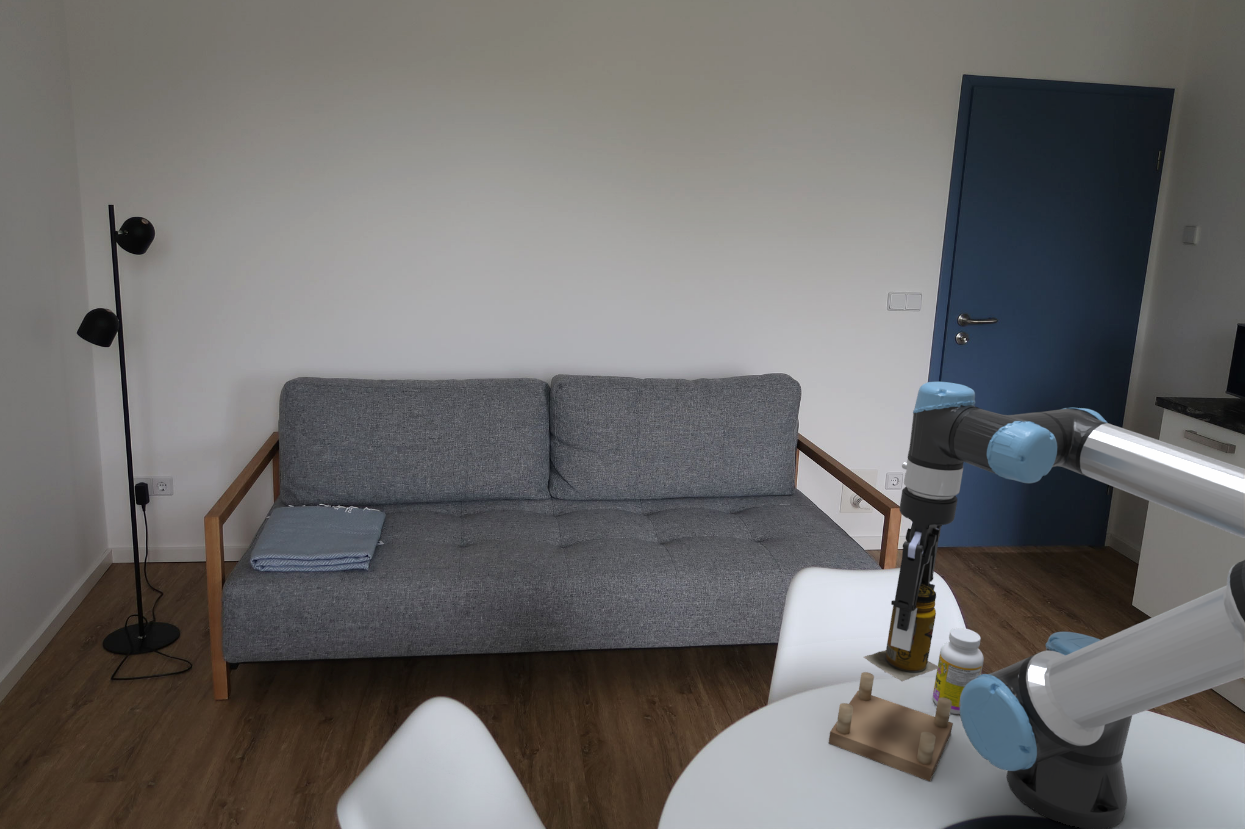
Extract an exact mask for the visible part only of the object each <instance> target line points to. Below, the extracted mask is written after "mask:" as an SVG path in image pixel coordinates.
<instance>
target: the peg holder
mask: <svg viewBox="0 0 1245 829" xmlns="http://www.w3.org/2000/svg"><path fill="white" fill-rule="evenodd" d="M874 679H875V675H874V674H873V673H871V672H868V671H867V672H866V671H863V672H861V674H860V679H859V680H860V681H859V685H858V686H859V688H858V690H857V691H856V693H855V694H853V695H854V696H853V697H852V698H851V700H850V701H849V703H847V702H842V703H840V704H839V708H838V714H837V721H836V722H835V723H834V725H833V726H832V728H831V730H830V731H829V738H828V744H830V745H833V746H835V747H838V748H840V749H843V750H844V751H845V750H846V751H848V752H851V753H854V754H856V755H859V756H861V757H863V758H867V759H869V760H872V761H875V762H877V763H880V764H883V765H884V766H887V767H890V768H893V769H896V770H898V771H901V772H904V773H906V774H908V775H912V776H915V777H916V778H918V779H922V780H925V781H927V782H932V779H933V776H934V774H935V772H936V770H937V767H938V766H939V763H940V760H941V758H942V755H943V754H944V751H945V749H946V746H947V745H948V743H949V740H950V737H951V735H952V729H953V726H954V725H953V724H954V723H953V722H951V721H950V716H951V713H950V710H951V705H952V702H951V701H950V700H949V699H947V698H939V699H938V703H937V705H936V710H935V715H931V714H928V713H925V712H923V711H919V710H916V709H913V708H910V707H908V706H904V705H902V704H899V703H896V702H893V701H891V700H888V699H884V698H881V697H879V696H877V695H876V696H875V695H872V693H873V686H874Z"/></svg>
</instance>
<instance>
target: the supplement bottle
mask: <svg viewBox="0 0 1245 829" xmlns="http://www.w3.org/2000/svg"><path fill="white" fill-rule="evenodd" d="M948 640H949V641H946V642H945V643H944V644H942V646H941V647H940V650H939V656H938V663H937V666H938V667H939V668H938V669H936V674H935V681H934V686H933V691H932V692H933V693H932V701H933V703H934V704H935V706H937V703H938V699H939V698H947V699H949V700H950V701H951V702H952V705H951V710H950V714H953V715H954V714H955V715H960V706H961V703H960V697H961V693H962V691H963V689H964V687H965V686H966V685H967V684H968V683H969V682H970V681H972V680H974V679H976V678H977V677H978V676H979V675H982V671H983V670H982V669H983V665H984V659H985V658H984V655H983V653H982V651H981V649H979V647H980V645H981V636H980V634H979V633H978V632H975V631H974V630H972V629H969V628H964V627H954V628H952V629H951V630H950V631H949V635H948Z"/></svg>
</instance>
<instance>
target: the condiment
mask: <svg viewBox="0 0 1245 829" xmlns="http://www.w3.org/2000/svg"><path fill="white" fill-rule="evenodd" d="M936 598H937V592H936V591H935V589H934V590H933V589H932V588H930V587H928V586H926V585H923V584H920V589H919V593H918V598H917V603H916V608H917V614H916V620H915V626H914V632H913V638H912V644H911V649H910V651H907V650H904V649H901V648H897V647H894V646H891V640H892V634H893V627H894V621H895V614H896V608H897V607H894V605H892V610H891V617H890V624H889V630H888V636H887V642H886V649H885V650H881V651H878V652H875V653H872V654H868V655H865V656H863V658H864V659H865V660H867V661H868V662H869V663H870V664H872V665H874V666H875V667H877V668H878V669H880V670H881V671H883V672H884V673H887V674H888V675H890V676H892V677H893V678H895V679H897V680H899V681H900V682H905V681H907V680H910V679H912V678H914V677H918V676H922V675H924V674H925V675H926V674H927V673H930V672H932V671H935V670H937V669H938V668H939V667H938V664H937V665H936V664H935V663H933V662H931V661H929V656H930V650H931V645H932V639H933V633H934V627H935V620H936V615H937V611H936V608H935V606H936Z"/></svg>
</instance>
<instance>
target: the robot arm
mask: <svg viewBox="0 0 1245 829" xmlns="http://www.w3.org/2000/svg"><path fill="white" fill-rule="evenodd" d="M975 398H976V392H975V390H974V389H972V388H970V387H969V386H966V385H964V384H960V383H953V382H946V381H928V382H925V383H923V384H922V385H921V386H919V389H918V392H917V397H916V400H915V406H914V409H913V410H912V422H911V423H912V424H911V432H910V433H911V434H910V441H909V448H908V453H907V460H906V462H903V463H902V464H901V467H902V469H903V470H906V471H905V473H904V478H903V485H904V486H905V487H903V488H902V489H901V497H900V502H899V513H900V514H901V515H902V516H903V517H904V518H906V519H909V520H910V521H911V522H912V523H911V526H910V527H909V528H907V530H906V534H905V541H903V543H902V553H901V561H900V569H899V572H898V580H897V584H896V589H895V590H896V591H895V597H894V600H891V603H890V604H891V605H892V606H893V605H894V607H897V608H896V614H895V621H894V627H893V634H892V640H891V646H894V647H897V648H901V649H904V650H907V651H910V649H911V644H912V638H913V632H914V626H915V620H916V614H917V608H916V603H917V598H918V593H919V589H920V584H923V585H926V586H928V587H930V588H932V589H933V590H934V591H935V587H936V585H935V584H933V583H932V584H931V582H933V580H934V573H935V567H936V566H935V564H936V559H937V552H938V546H939V545H938V544H939V542H940V541H939V540H940V536H941V529H942V527H943V526H946V525H949V524H952V522H954V520H955V516H956V511H957V504H958V497H957V495H959V493H960V490H961V484H962V479H963V471H964V464H965V463H966V464H969V465H971V466H974V467H977V468H979V469H982V470H985V471H988V472H989V473H992V474H995V475H998V477H1002V478H1003V479H1006V480H1013V481H1016V482H1020V483H1022V484H1023V483H1024V484H1034V483H1037V482H1039V481H1040V480H1041V479H1042V477H1043V476H1044V477H1045V476H1047V475H1048V474H1049V472H1050V471H1051V470H1052V468H1055V467H1060V468H1061V467H1062V468H1064V469H1067V470H1070V471H1072V472H1075V473H1077V474H1080V475H1082V476H1085V477H1088V478H1091V479H1093V480H1096V481H1098V482H1101V483H1103V484H1106V485H1109V486H1111V487H1113V488H1116V489H1119V490H1121V491H1124V492H1126V493H1129V494H1132V495H1133V496H1136V497H1139V498H1142V499H1143V500H1146V501H1149V502H1151V503H1153V504H1156V505H1159V506H1162V507H1164V508H1166V509H1169V510H1172V511H1173V512H1174V511H1175V512H1176V513H1179V514H1181V515H1183V516H1186V517H1189V518H1191V519H1194V520H1196V521H1198V522H1201V523H1203V524H1206V525H1209V526H1212V527H1214V528H1216V529H1219V530H1221V531H1224V532H1227V533H1229V534H1232V535H1234V536H1237V537H1239V538H1241V539H1244V540H1245V467H1240V466H1238V465H1235V464H1231V463H1229V462H1225V461H1222V460H1219V459H1216V458H1213V457H1211V456H1207V455H1204V454H1201V453H1198V452H1196V451H1193V450H1189V449H1186V448H1183V447H1180V446H1177V445H1174V444H1171V443H1168V442H1165V441H1162V440H1159V439H1156V438H1153V437H1150V436H1147V435H1144V434H1141V433H1138V432H1135V431H1133V430H1128V429H1126V428H1123V427H1120V426H1117V425H1113V424H1111V423H1108V421H1107V420H1105V418H1104V417H1103V416H1102V415H1101V414H1100V413H1099V412H1097V411H1095V410H1093V409H1090V408H1084V407H1083V408H1082V407H1081V408H1080V407H1079V408H1078V407H1064V408H1061V409H1054V410H1048V411H1047V410H1046V411H1037V412H1026V413H1019V414H1008V415H1007V414H1000V413H997V412H993V411H989V410H986V409H983V408H980V407H978V406H976V405H975V404H976V400H975ZM1241 678H1245V559H1243V560H1241V561H1239V562H1237V563H1235V564H1232V566H1231V568H1229V571H1228V572H1227V579H1226V585H1223V586H1222V587H1220V588H1219V587H1218V588H1217V589H1215V590H1213V591H1210V592H1208V593H1206V594H1204V595H1201V596H1199V597H1197V598H1194V599H1191V600H1190V601H1187V602H1185V603H1182V604H1180V605H1178V606H1176V607H1174V608H1171V609H1170V610H1166V611H1164V612H1162V613H1160V614H1158V615H1155V616H1153V617H1151V618H1148V619H1146V620H1143V621H1142V622H1140V623H1137V624H1134V625H1131V626H1130V627H1128V628H1125V629H1123V630H1121V631H1118V632H1117V633H1114V634H1112V635H1109V636H1107V637H1104V638H1103V639H1099V638H1098V637H1094V636H1090V635H1087V634H1083V633H1077V632H1072V631H1057V632H1054V633H1052V634H1051V635H1049V637H1048V639H1047V642H1045V650H1043V651H1040V652H1037V653H1035V654H1033V655H1030V656H1028V657H1027V658H1024V659H1022V660H1019V661H1017V662H1015V663H1013V664H1011V665H1009V666H1006V667H1003V668H1001V669H999V670H996V671H994V672H991V673H988V674H986V673H981V675H979V676H978V677H977V678H976V679H974V680H972V681H970V682H969V683H968V684H967V685H966V686H965V687H964V689H963V691H962V693H961V697H960V703H961V706H960V714H959V715H960V719H961V720H960V721H961V724H962V727H963V730H964V732H965V734H966V736H967V739H968V740H969V742H970V743H971V746H973V748H974V749H975V750H976V752H977V753H978V754H979V755H980V756H981V757H982V758H983V759H984V760H986V761H987V760H988V762H989V763H990V764H991V765H992V766H994V767H995V768H997V769H1000V770H1002V771H1003V770H1004V771H1006V780H1007V783H1008V786H1009V787H1010V789H1011V791H1012V792H1013V793H1014V794H1015V796H1016V797H1017V798H1018V799H1019V800H1020V801H1021V802H1022V803H1023V804H1024V805H1026V806H1027V807H1029V808H1030V809H1032V810H1033V811H1035V812H1037V813H1038V814H1040V815H1041V816H1043V817H1046V818H1047V819H1050V820H1052V821H1054V822H1057V821H1058V822H1057V823H1059V822H1061V823H1060V824H1062V823H1063V824H1062V825H1065V824H1066V825H1065V826H1069V825H1070V826H1069V827H1072V826H1075V827H1074V828H1077V827H1079V828H1078V829H1110V828H1113V827H1116V826H1118V825H1119V824H1120V823H1121V822H1122V821H1123V819H1124V816H1125V813H1126V807H1127V804H1128V795H1127V789H1126V781H1125V777H1124V776H1125V775H1124V770H1123V769H1124V768H1123V763H1122V762H1123V761H1122V759H1123V754H1124V750H1125V746H1126V743H1127V738H1128V734H1129V730H1130V726H1131V724H1132V723H1131V722H1132V717H1133V716H1134V715H1138V714H1140V713H1143V712H1146V711H1149V710H1151V709H1154V708H1157V707H1160V706H1163V705H1166V704H1169V703H1172V702H1174V701H1175V702H1176V701H1177V700H1180V699H1183V698H1186V697H1187V698H1188V697H1189V696H1193V695H1196V694H1199V693H1201V692H1203V691H1206V690H1210V689H1213V688H1216V687H1218V686H1221V685H1224V684H1227V683H1230V682H1233V681H1236V680H1238V679H1241Z"/></svg>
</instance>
